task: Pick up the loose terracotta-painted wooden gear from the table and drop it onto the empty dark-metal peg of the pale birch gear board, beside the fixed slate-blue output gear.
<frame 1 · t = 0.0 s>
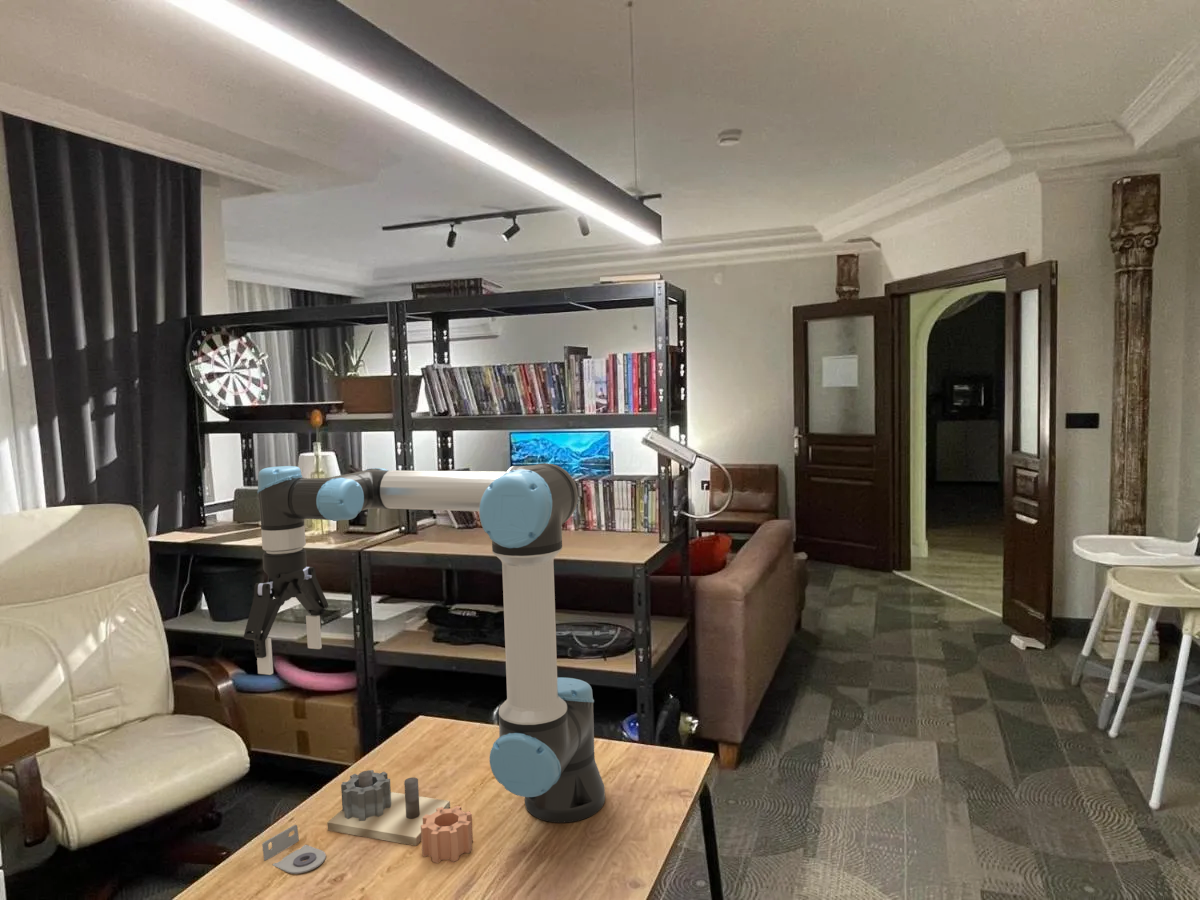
hand: (291, 660, 145), 28 cm above the table, fingers open, 13 cm apart
bracket: (298, 860, 130), on the table
gear board: (390, 819, 141), on the table
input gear: (447, 847, 132), on the table
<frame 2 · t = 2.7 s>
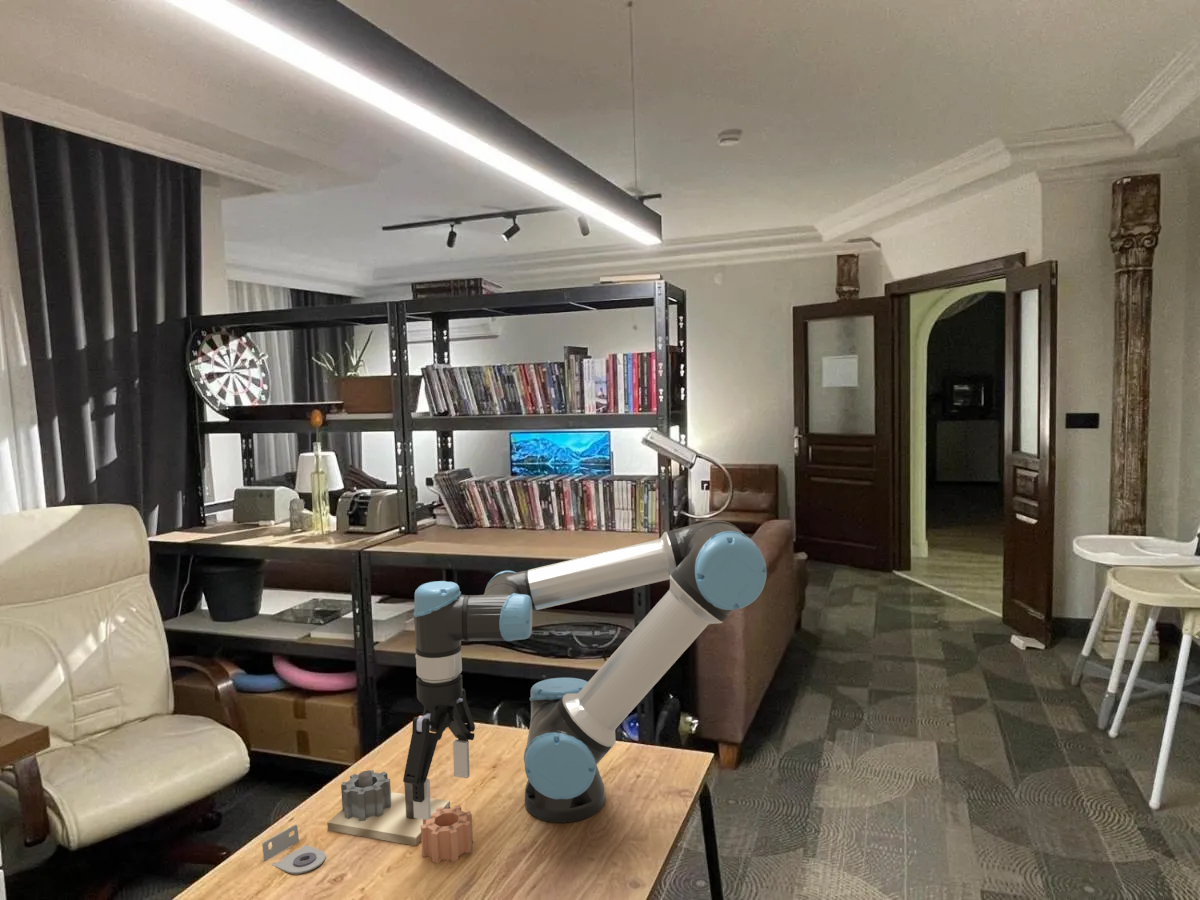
hand: (443, 796, 131), 9 cm above the table, fingers open, 13 cm apart
nothing on the table moved.
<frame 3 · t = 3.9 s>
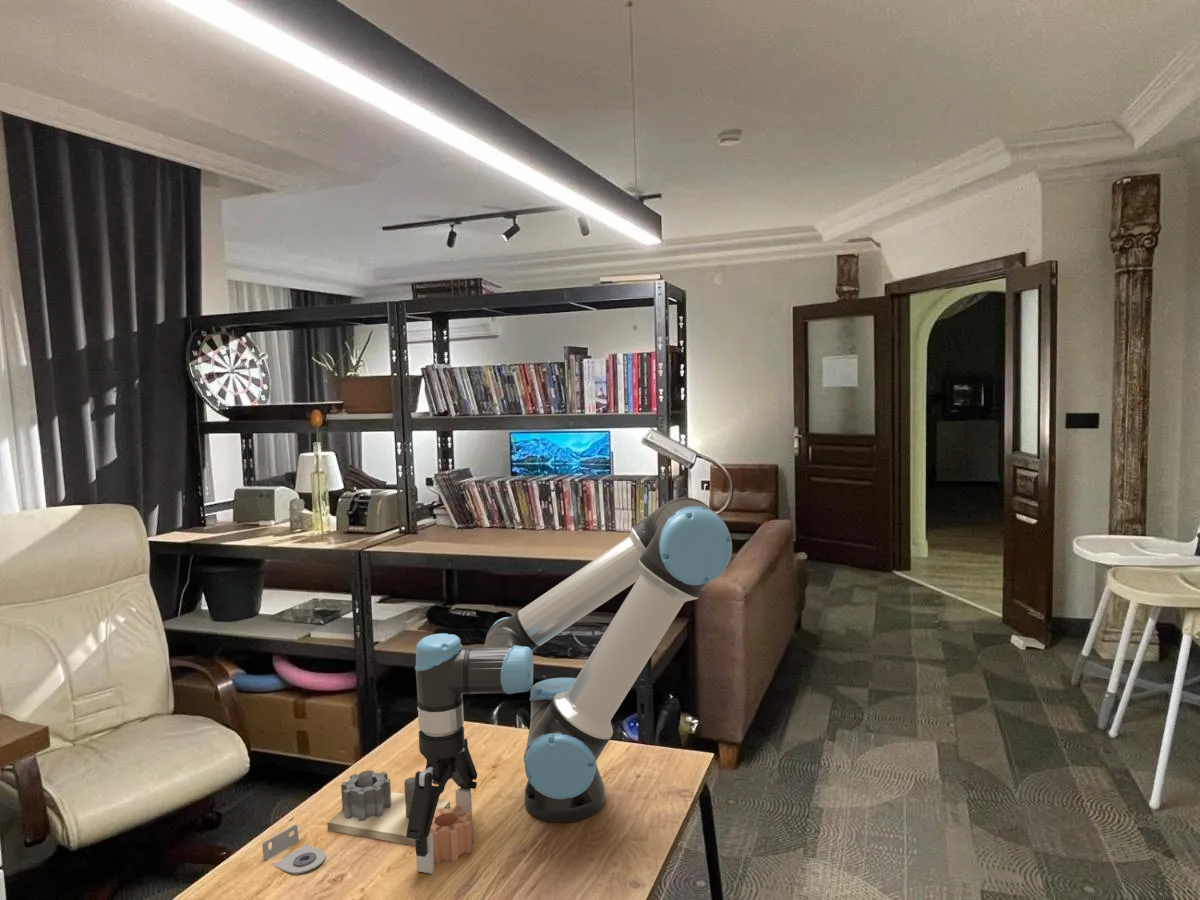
hand: (446, 847, 132), 0 cm above the table, fingers open, 13 cm apart
nothing on the table moved.
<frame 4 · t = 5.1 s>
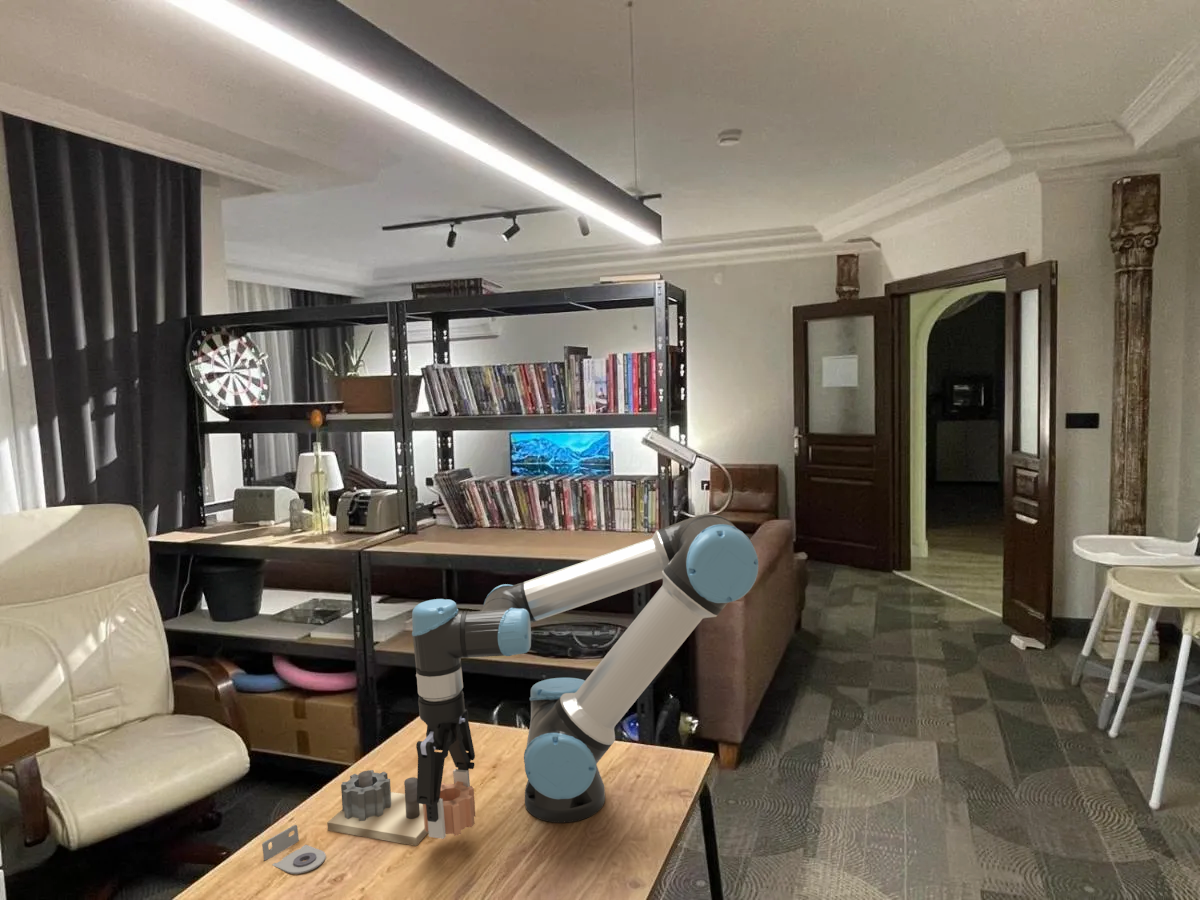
hand: (450, 820, 131), 5 cm above the table, fingers closed on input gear, 9 cm apart
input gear: (450, 822, 131), point 4 cm above the table, touching gripper
everything else where it was.
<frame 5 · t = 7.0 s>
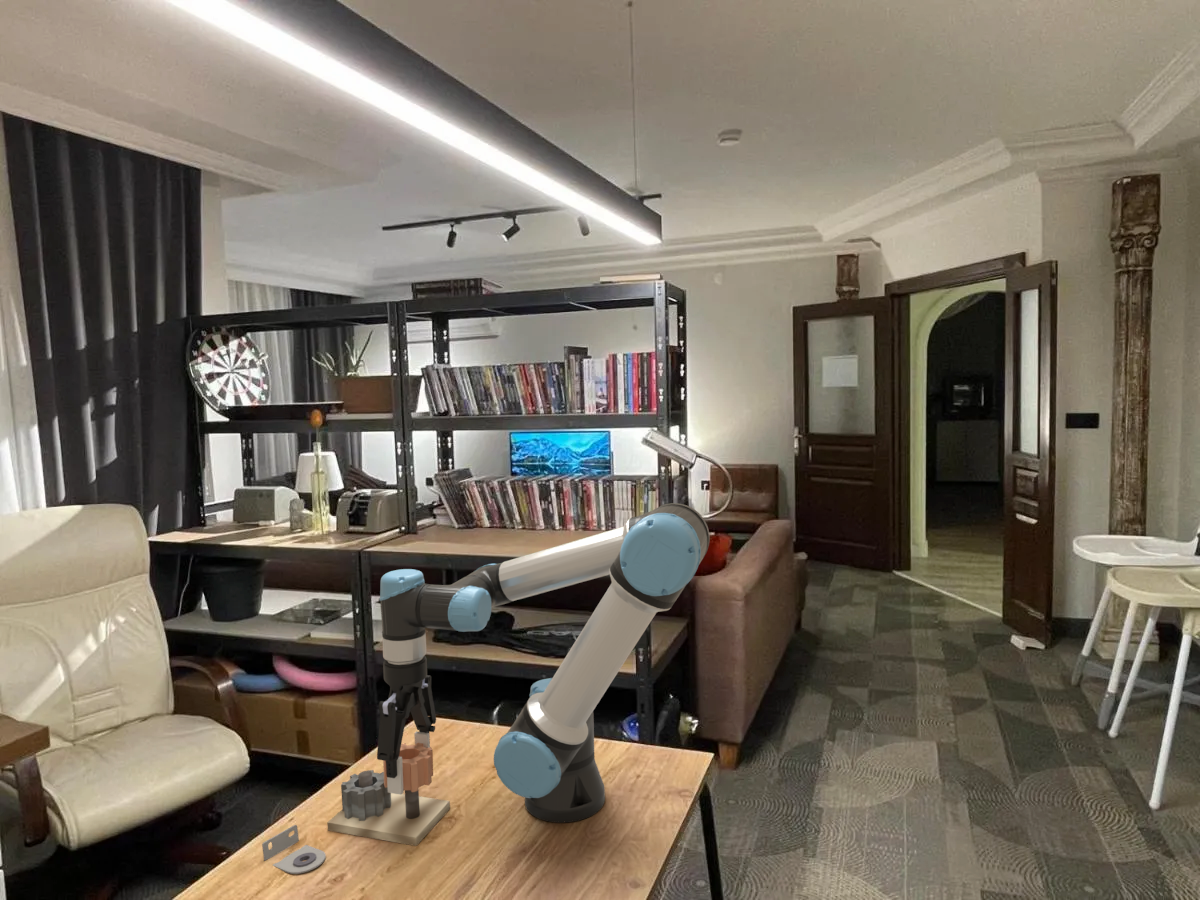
hand: (409, 779, 139), 8 cm above the table, fingers closed on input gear, 9 cm apart
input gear: (408, 780, 139), point 8 cm above the table, touching gripper
everything else where it was.
when the fingers open (2 cm above the table, at t = 8.7 s): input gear stays where it is, resting on gear board.
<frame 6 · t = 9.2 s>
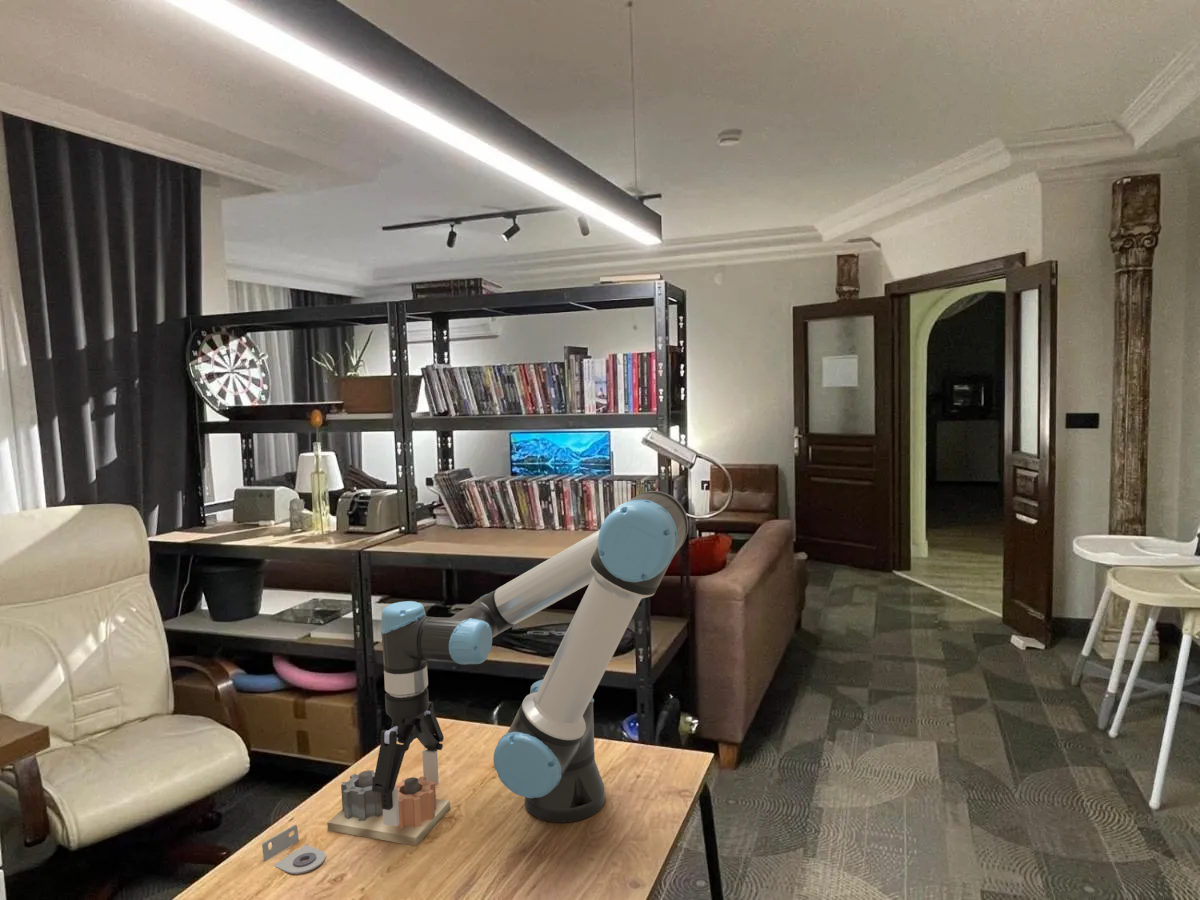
hand: (412, 803, 139), 4 cm above the table, fingers open, 13 cm apart
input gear: (412, 814, 139), point 1 cm above the table, touching gear board
everything else where it was.
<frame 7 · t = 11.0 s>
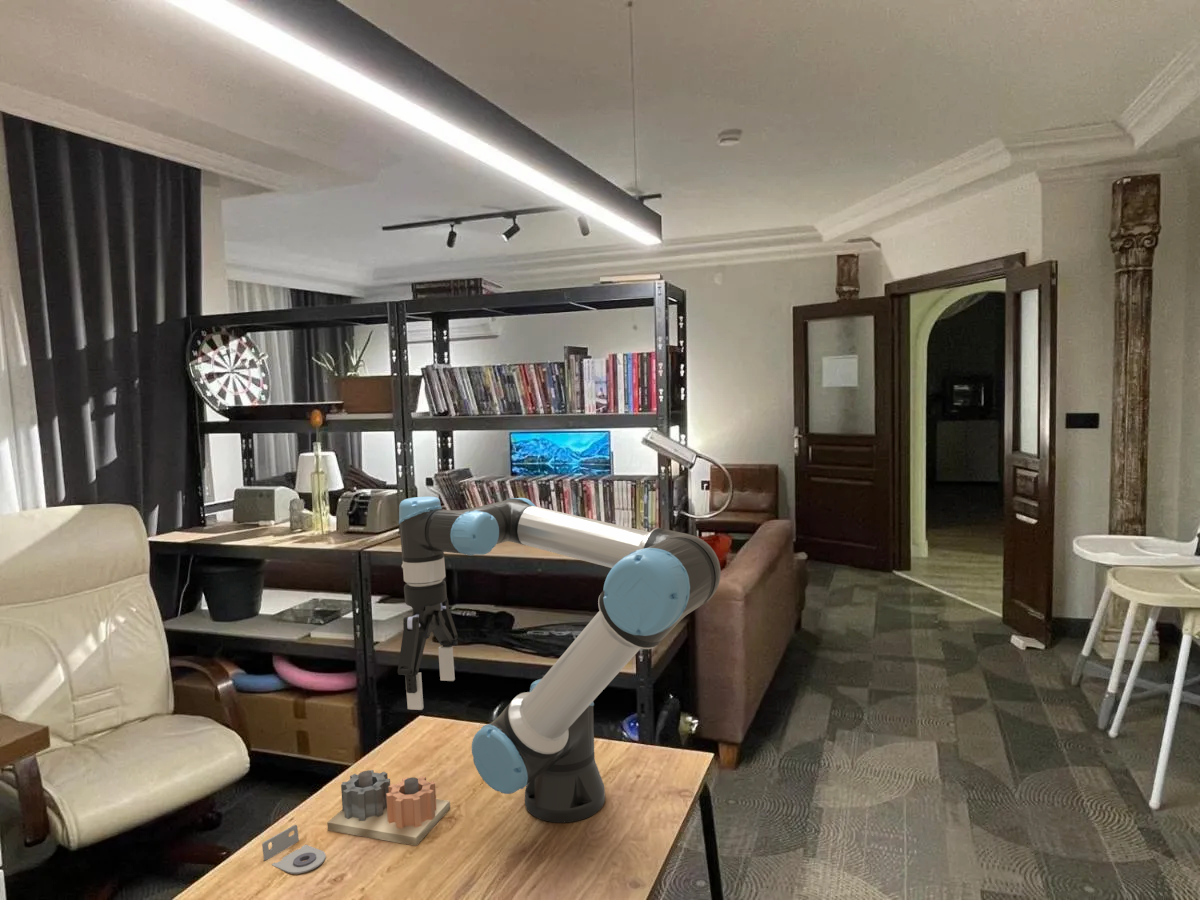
hand: (432, 693, 143), 22 cm above the table, fingers open, 13 cm apart
nothing on the table moved.
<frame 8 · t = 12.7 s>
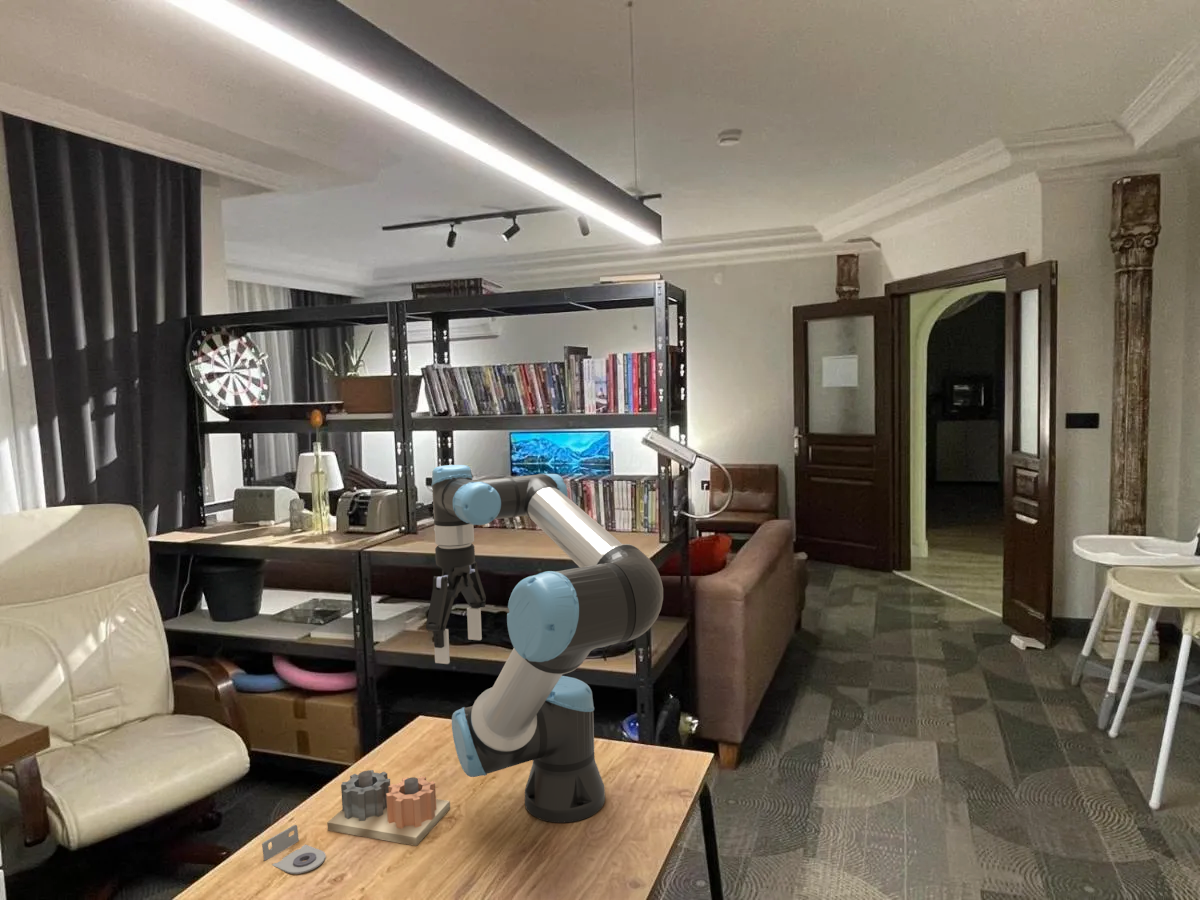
hand: (459, 650, 151), 27 cm above the table, fingers open, 13 cm apart
nothing on the table moved.
at the end: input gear 0.2 cm from the target spot on the gear board, point 1.5 cm above the gear board's base; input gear tilted 0°; the gripper is holding nothing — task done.
